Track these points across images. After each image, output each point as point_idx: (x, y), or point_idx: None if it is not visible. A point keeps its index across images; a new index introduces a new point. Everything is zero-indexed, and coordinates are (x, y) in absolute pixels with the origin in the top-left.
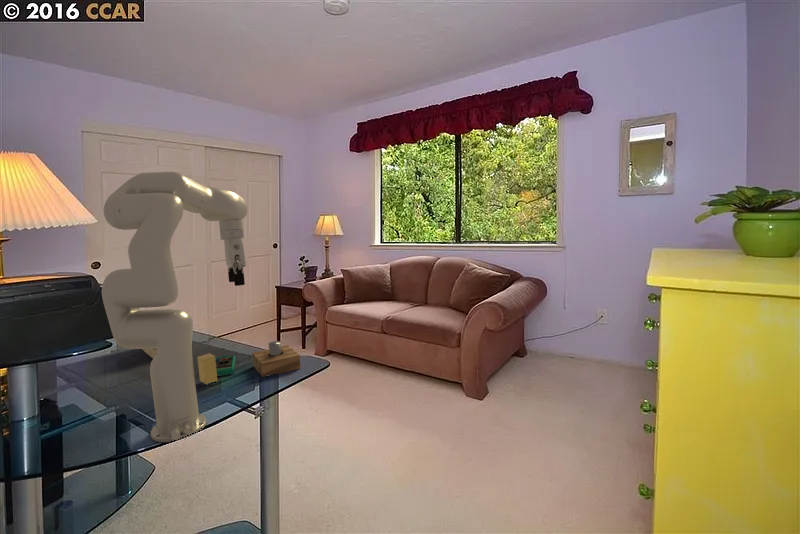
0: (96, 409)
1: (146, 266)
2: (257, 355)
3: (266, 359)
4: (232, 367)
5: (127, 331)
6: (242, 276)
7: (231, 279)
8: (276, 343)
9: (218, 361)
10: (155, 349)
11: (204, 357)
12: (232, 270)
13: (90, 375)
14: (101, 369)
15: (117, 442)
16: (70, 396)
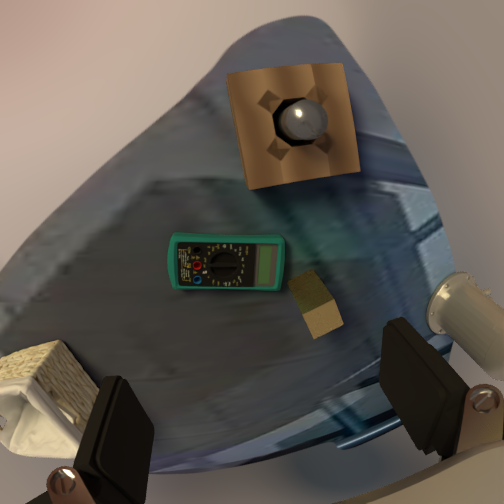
0: (317, 417)
1: None
2: (286, 175)
3: (336, 154)
4: (277, 241)
5: None
6: (441, 376)
7: (146, 434)
8: (318, 114)
9: (205, 278)
10: (92, 403)
11: (332, 322)
12: (118, 497)
13: (160, 451)
14: None
15: None
16: (244, 452)
